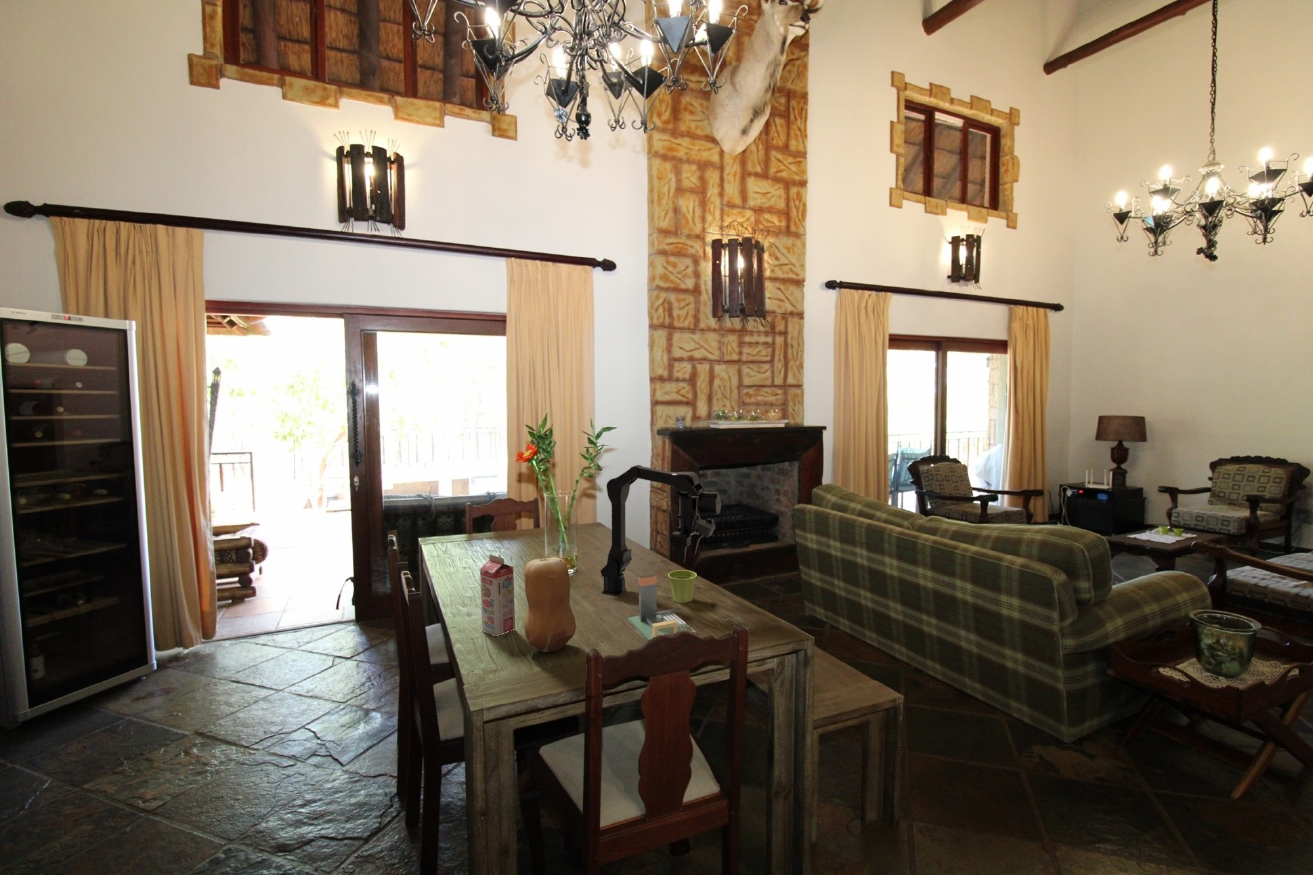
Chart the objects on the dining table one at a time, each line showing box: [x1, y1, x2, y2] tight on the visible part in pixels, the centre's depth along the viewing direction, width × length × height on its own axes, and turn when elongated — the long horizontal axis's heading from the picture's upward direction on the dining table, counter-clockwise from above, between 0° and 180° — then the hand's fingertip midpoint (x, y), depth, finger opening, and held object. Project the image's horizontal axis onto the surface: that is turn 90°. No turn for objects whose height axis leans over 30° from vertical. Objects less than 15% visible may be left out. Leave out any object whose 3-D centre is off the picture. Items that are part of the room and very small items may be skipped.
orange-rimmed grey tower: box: [637, 574, 681, 627], centre depth 180 cm, size 8×13×13 cm, turn 114°
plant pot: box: [667, 569, 698, 604], centre depth 200 cm, size 9×9×9 cm
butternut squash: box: [523, 557, 577, 653], centre depth 162 cm, size 14×13×25 cm
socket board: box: [627, 612, 697, 641], centre depth 178 cm, size 18×14×4 cm
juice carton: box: [479, 553, 516, 637], centre depth 176 cm, size 7×7×22 cm
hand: (688, 558), depth 198 cm, fingers open, 9 cm apart
